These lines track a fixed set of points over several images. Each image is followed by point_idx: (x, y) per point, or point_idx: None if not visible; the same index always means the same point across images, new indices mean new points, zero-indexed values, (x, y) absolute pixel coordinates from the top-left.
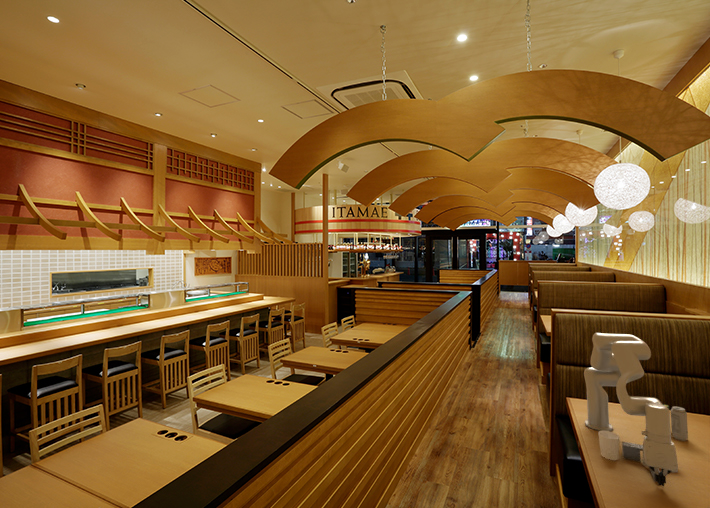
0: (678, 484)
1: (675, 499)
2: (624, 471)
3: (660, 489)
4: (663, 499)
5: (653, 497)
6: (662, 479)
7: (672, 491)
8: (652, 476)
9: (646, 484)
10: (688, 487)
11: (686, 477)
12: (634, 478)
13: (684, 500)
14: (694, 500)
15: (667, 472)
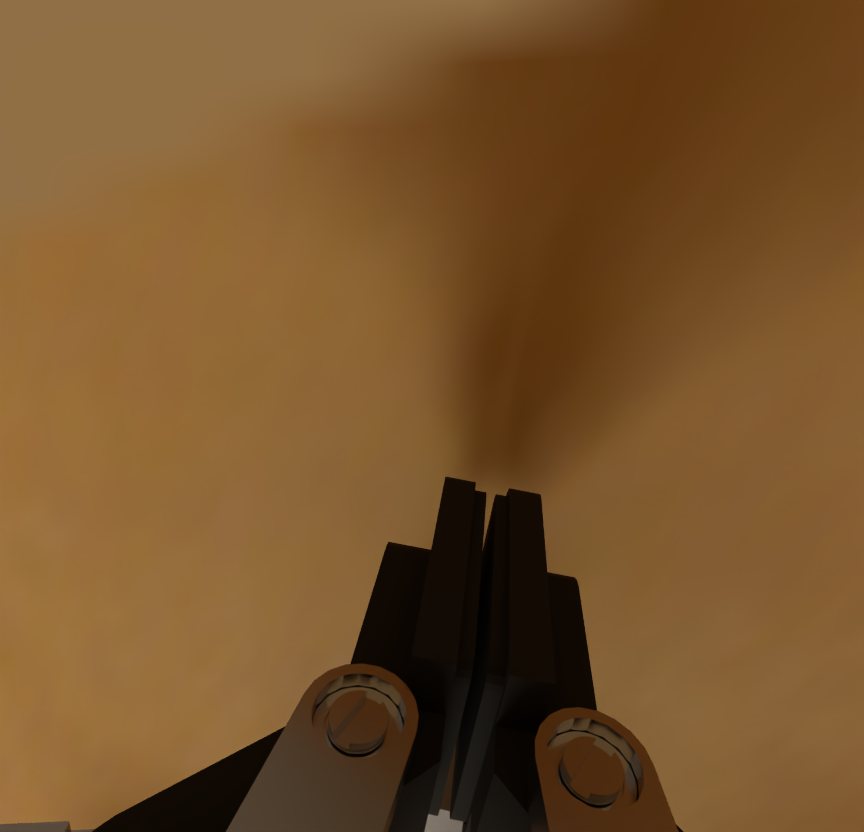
0: (179, 656)
1: (356, 169)
2: (842, 827)
3: (503, 465)
4: (628, 62)
5: (843, 74)
6: (460, 581)
7: (318, 455)
8: None
9: (685, 563)
10: (70, 614)
11: (62, 799)
12: (799, 690)
13: (197, 192)
14: (34, 259)
15: (236, 809)
